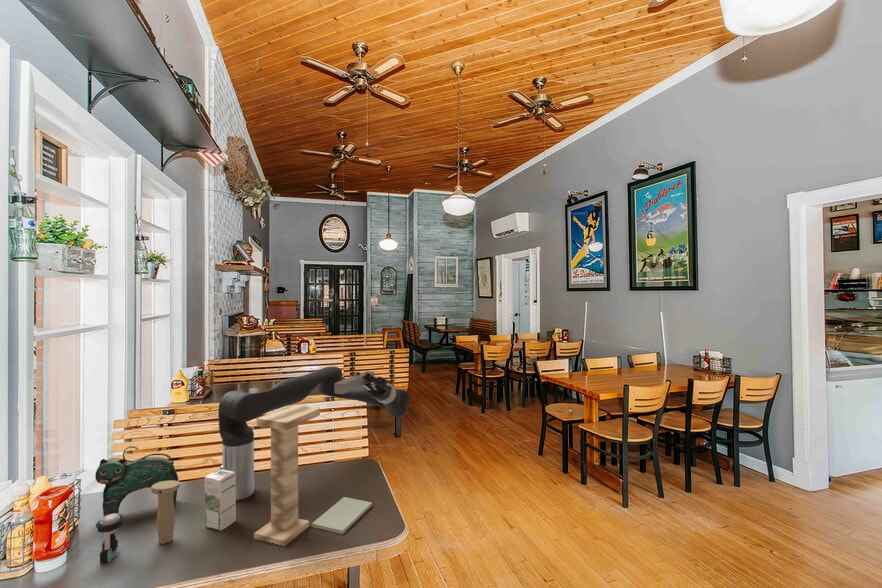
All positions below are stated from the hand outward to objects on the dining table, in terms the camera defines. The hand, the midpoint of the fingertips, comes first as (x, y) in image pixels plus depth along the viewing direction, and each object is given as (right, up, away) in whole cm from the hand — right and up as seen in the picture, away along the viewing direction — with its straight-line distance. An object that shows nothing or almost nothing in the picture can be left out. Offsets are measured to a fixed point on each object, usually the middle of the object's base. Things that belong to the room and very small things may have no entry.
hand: (361, 375), depth 136 cm
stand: (-17, -39, -19) cm, 47 cm away
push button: (-57, -39, -31) cm, 76 cm away
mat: (-3, -39, -12) cm, 41 cm away
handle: (-47, -39, -25) cm, 66 cm away
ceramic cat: (-65, -39, -10) cm, 76 cm away
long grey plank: (-1, -3, -3) cm, 5 cm away
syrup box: (-37, -39, -17) cm, 56 cm away
